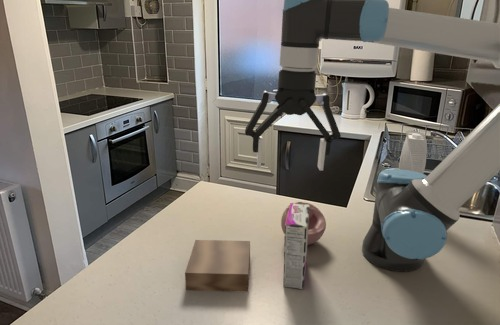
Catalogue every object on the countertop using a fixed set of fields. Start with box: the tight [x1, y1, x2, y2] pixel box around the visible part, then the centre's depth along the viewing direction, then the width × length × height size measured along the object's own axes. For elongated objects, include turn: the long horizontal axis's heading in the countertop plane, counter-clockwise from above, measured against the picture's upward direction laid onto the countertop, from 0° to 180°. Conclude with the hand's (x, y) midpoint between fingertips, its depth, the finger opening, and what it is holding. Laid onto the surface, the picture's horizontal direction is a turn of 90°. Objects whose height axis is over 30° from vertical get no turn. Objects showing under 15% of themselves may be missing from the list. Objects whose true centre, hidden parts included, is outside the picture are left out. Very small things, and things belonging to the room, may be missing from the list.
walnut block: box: [184, 239, 251, 293], centre depth 92 cm, size 14×14×5 cm
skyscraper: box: [398, 130, 428, 174], centre depth 119 cm, size 8×8×28 cm
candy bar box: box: [282, 202, 310, 291], centre depth 89 cm, size 11×5×16 cm, turn 168°
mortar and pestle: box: [280, 201, 327, 246], centre depth 104 cm, size 12×12×12 cm
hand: (289, 167), depth 84 cm, fingers open, 13 cm apart
